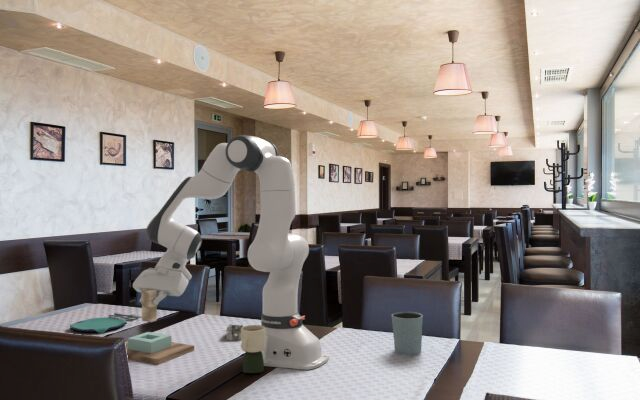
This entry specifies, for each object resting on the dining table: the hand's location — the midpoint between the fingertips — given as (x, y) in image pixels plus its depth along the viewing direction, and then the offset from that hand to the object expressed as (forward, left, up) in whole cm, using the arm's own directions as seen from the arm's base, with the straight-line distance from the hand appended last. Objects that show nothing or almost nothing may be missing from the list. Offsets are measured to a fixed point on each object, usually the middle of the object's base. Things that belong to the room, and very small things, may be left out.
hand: (147, 303), depth 171 cm
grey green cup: (-76, -39, -16) cm, 87 cm away
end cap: (0, -1, -15) cm, 15 cm away
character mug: (-42, 0, -16) cm, 45 cm away
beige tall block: (0, -1, -6) cm, 6 cm away
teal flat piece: (+43, -20, -17) cm, 50 cm away
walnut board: (0, -1, -16) cm, 16 cm away
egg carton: (-15, -29, -17) cm, 36 cm away
